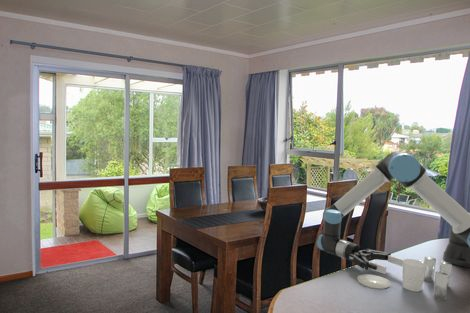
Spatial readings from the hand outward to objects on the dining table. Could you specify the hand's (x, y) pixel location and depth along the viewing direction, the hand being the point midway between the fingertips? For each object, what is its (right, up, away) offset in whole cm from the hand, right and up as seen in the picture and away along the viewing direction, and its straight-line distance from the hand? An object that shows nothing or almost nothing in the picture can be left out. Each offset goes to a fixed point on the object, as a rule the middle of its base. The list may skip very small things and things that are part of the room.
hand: (394, 266), depth 150 cm
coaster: (-9, -6, -1) cm, 11 cm away
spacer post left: (+15, -6, +3) cm, 16 cm away
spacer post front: (+11, -8, -13) cm, 18 cm away
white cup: (+4, -7, -5) cm, 10 cm away
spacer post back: (+18, -7, -2) cm, 20 cm away
